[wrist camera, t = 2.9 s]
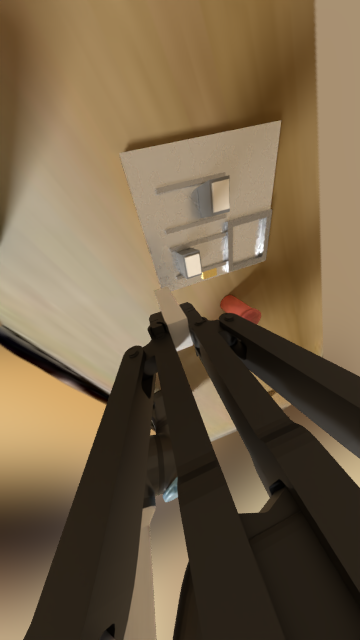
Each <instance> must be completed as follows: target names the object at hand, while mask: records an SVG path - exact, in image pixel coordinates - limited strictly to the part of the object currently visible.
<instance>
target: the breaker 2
mask: <svg viewBox="0 0 360 640" xmlns="http://www.w3.org/2000/svg"><path fill="white" fill-rule="evenodd" d="M198 196H199V205H200V214H201V218H206V217H212V216H216V215H219V214H223V213H227V212H230V175H228V176H224V177H219V178H215V179H211V180H208V181H207V182H205V183H203V184H202V185H200V186H199V187H198Z"/></svg>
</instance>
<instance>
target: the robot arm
mask: <svg viewBox="0 0 360 640" xmlns="http://www.w3.org/2000/svg"><path fill="white" fill-rule="evenodd" d="M154 293H155V296H156V298H157V301H158V304H159V307H160V310H161V312H158V313H155V314H152V315H150V318H149V321H150V326H149V327H148V332H149V334H150V337H151V339H152V340H151V341H150V342H149V343H148V344H147V345H146V346H144V347H143V348H142V347H141V346H133V347H131V348H129V349H128V350H127V351H126V352H125V354H124V356H123V359H122V362H121V365H120V367H119V370H118V373H117V376H116V379H115V382H114V385H113V388H112V391H111V393H110V396H109V399H108V402H107V405H106V408H105V411H104V414H103V417H102V420H101V423H100V426H99V428H98V431H97V434H96V437H95V440H94V443H93V446H92V449H91V451H90V454H89V457H88V460H87V463H86V466H85V469H84V472H83V475H82V477H81V480H80V483H79V486H78V489H77V492H76V495H75V498H74V501H73V503H72V507H71V509H70V512H69V515H68V518H67V521H66V524H65V527H64V530H63V532H62V536H61V538H60V541H59V544H58V547H57V550H56V553H55V556H54V559H53V561H52V564H51V567H50V570H49V573H48V576H47V579H46V582H45V585H44V587H43V590H42V593H41V596H40V599H39V602H38V605H37V608H36V611H35V613H34V616H33V619H32V622H31V625H30V627H29V629H28V631H27V633H26V635H25V637H24V639H23V640H156V624H155V608H154V590H153V573H152V556H151V539H150V522H151V519H152V516H153V514H154V512H155V509H156V505H155V496H157V495H160V494H163V498H164V500H165V502H169V501H171V500H173V499H175V498H177V497H178V499H179V505H180V512H181V518H182V524H183V529H184V535H185V540H186V546H187V552H188V558H189V562H188V565H187V568H186V571H185V575H184V579H183V583H182V587H181V592H180V598H179V604H178V610H177V616H176V622H175V628H174V635H173V640H360V488H359V487H358V485H357V484H356V483H355V482H354V481H353V480H352V479H351V477H349V475H348V474H347V473H346V472H345V471H344V469H343V468H342V467H341V466H340V465H339V464H338V463H337V462H336V460H335V459H334V458H333V457H332V456H331V455H330V454H329V452H328V451H327V450H326V449H325V448H324V447H323V446H322V444H321V443H320V442H319V441H318V440H317V439H316V438H315V437H314V436H313V435H312V434H311V433H310V432H309V431H308V430H307V429H306V428H304V427H303V426H301V425H299V424H296V423H294V422H293V421H292V420H290V419H289V418H288V416H287V415H286V414H285V413H284V412H283V411H282V409H281V408H280V407H279V406H278V404H277V403H276V402H275V401H274V400H273V398H272V397H271V396H270V395H269V394H268V392H267V391H266V390H265V389H264V387H263V386H262V385H261V384H260V383H259V381H258V380H257V379H256V378H255V377H254V375H253V374H252V373H251V372H253V373H254V374H255V375H256V376H257V377H259V378H260V379H261V380H262V381H264V382H265V383H266V384H267V385H269V386H270V387H271V388H272V389H274V390H275V391H276V392H277V393H278V394H280V395H281V396H282V397H283V398H285V399H286V400H287V401H288V402H290V403H291V404H292V405H293V406H295V407H296V408H297V409H298V410H299V411H301V412H302V413H303V414H305V415H306V416H307V417H308V418H309V419H311V420H312V421H313V422H314V423H316V424H317V425H318V426H319V427H321V428H322V429H323V430H324V431H326V432H327V433H328V434H329V435H330V436H332V437H333V438H334V439H335V440H337V441H338V442H339V443H340V444H342V445H343V446H344V447H345V448H347V449H348V450H349V451H351V452H352V453H353V454H354V455H356V456H357V457H358V458H360V377H359V376H357V375H355V374H353V373H351V372H350V371H347V370H346V369H344V368H342V367H340V366H338V365H336V364H334V363H332V362H330V361H328V360H326V359H324V358H322V357H320V356H318V355H316V354H314V353H312V352H310V351H308V350H306V349H304V348H302V347H300V346H298V345H296V344H294V343H292V342H290V341H288V340H286V339H284V338H282V337H280V336H278V335H276V334H274V333H272V332H270V331H268V330H266V329H265V328H263V327H261V326H259V325H257V324H255V323H253V322H251V321H249V320H247V319H245V318H243V317H241V316H239V315H237V314H234V313H224V314H222V315H221V316H220V317H219V320H214V321H209V320H207V319H206V318H205V317H201V316H200V314H199V313H198V312H197V311H196V310H195V308H194V307H193V305H192V304H190V303H188V302H186V303H183V304H180V305H179V304H178V303H177V301H176V299H175V298H174V296H173V295H172V293H171V291H170V290H169V288H168V286H167V287H164V288H161V289H158V290H154ZM193 343H194V345H195V350H196V355H197V356H199V358H200V360H201V361H202V363H203V365H204V367H205V369H206V371H207V373H208V375H209V377H210V379H211V381H212V382H213V384H214V386H215V388H216V390H217V392H218V394H219V396H220V398H221V400H222V402H223V403H224V405H225V407H226V409H227V411H228V413H229V415H230V417H231V419H232V421H233V423H234V425H235V426H236V428H237V430H238V432H239V434H240V436H241V438H242V440H243V442H244V444H245V445H246V447H247V449H248V451H249V453H250V455H251V458H252V460H253V463H254V466H255V469H256V471H257V473H258V475H259V477H260V479H261V481H262V483H263V485H264V487H265V489H266V491H267V493H268V495H269V497H270V499H269V500H268V501H267V503H266V504H265V505H264V507H263V508H262V509H261V511H260V512H259V513H242V514H238V512H237V509H236V507H235V504H234V501H233V499H232V496H231V494H230V491H229V488H228V486H227V483H226V480H225V478H224V475H223V473H222V470H221V467H220V465H219V462H218V460H217V457H216V455H215V452H214V450H213V447H212V444H211V442H210V439H209V436H208V433H207V431H206V428H205V425H204V423H203V420H202V417H201V415H200V412H199V409H198V407H197V404H196V401H195V399H194V396H193V393H192V391H191V388H190V385H189V383H188V380H187V377H186V375H185V372H184V369H183V367H182V364H181V361H180V359H179V356H178V353H177V351H179V350H182V349H185V348H187V347H190V346H193ZM249 370H250V371H251V372H250V371H249ZM157 372H158V375H159V380H160V385H161V391H159V392H157V393H155V394H154V390H155V380H156V373H157ZM151 420H152V422H153V424H154V426H155V430H156V435H151V436H150V430H151Z"/></svg>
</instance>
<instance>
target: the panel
mask: <svg viewBox="0 0 360 640" xmlns="http://www.w3.org/2000/svg"><path fill="white" fill-rule="evenodd" d="M280 126H281V120H280V121H275V122H270V123H265V124H260V125H255V126H250V127H246V128H241V129H236V130H231V131H226V132H221V133H216V134H211V135H206V136H201V137H196V138H191V139H187V140H182V141H177V142H172V143H167V144H162V145H157V146H152V147H147V148H142V149H137V150H132V151H128V152H123V153H119V155H120V161H121V164H122V167H123V170H124V173H125V177H126V180H127V183H128V186H129V189H130V192H131V196H132V199H133V202H134V205H135V208H136V212H137V215H138V218H139V221H140V224H141V228H142V231H143V234H144V237H145V240H146V243H147V247H148V250H149V253H150V256H151V259H152V263H153V266H154V269H155V272H156V275H157V279H158V282H159V285H160V288H164V287H167V286H168V288H169V290H170V291H174V290H177V289H180V288H183V287H186V286H189V285H192V284H195V283H198V282H201V281H204V280H208V279H211V278H214V277H217V276H220V275H223V274H226V273H229V272H232V271H235V270H238V269H241V268H244V267H247V266H251V265H254V264H257V263H260V262H263V261H265V260H266V255H267V247H268V239H269V231H270V224H271V216H272V209H270V208H271V200H272V192H273V184H274V176H275V167H276V159H277V151H278V143H279V135H280ZM228 175H230V212H227V213H223V214H219V215H216V216H212V217H206V218H201V214H200V205H199V196H198V187H199V186H200V185H202V184H203V183H205V182H207V181H208V180H211V179H215V178H219V177H224V176H228ZM188 248H194V249H197V250H200V258H201V266H202V275H199V276H196V277H193V278H190V279H186V278H185V277H184V276H183V275H181V274H180V269H179V265H178V260H177V255H176V252H178V251H181V250H185V249H188Z"/></svg>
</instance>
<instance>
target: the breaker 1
mask: <svg viewBox="0 0 360 640" xmlns="http://www.w3.org/2000/svg"><path fill="white" fill-rule="evenodd" d="M176 255H177V260H178V265H179V269H180V274H181V275H183V276H184V277H185V278H186V279H190V278H193V277H196V276H199V275H202V266H201V258H200V250H197V249H194V248H188V249H185V250H181V251H178V252H176Z"/></svg>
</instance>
